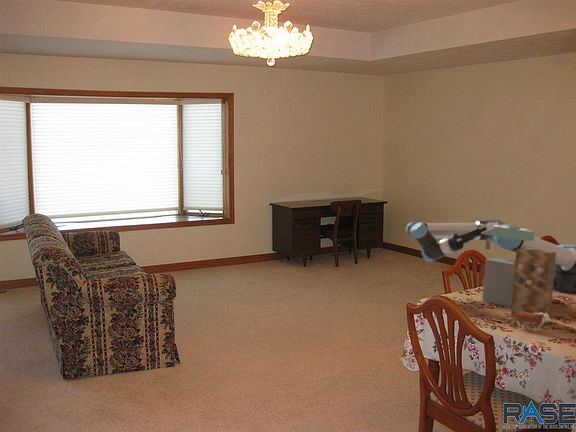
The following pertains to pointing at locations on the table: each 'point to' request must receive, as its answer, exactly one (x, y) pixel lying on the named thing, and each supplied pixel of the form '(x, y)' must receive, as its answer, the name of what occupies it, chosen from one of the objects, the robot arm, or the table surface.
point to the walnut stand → (533, 281)
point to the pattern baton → (509, 232)
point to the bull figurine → (531, 319)
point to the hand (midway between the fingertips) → (495, 224)
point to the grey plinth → (498, 281)
